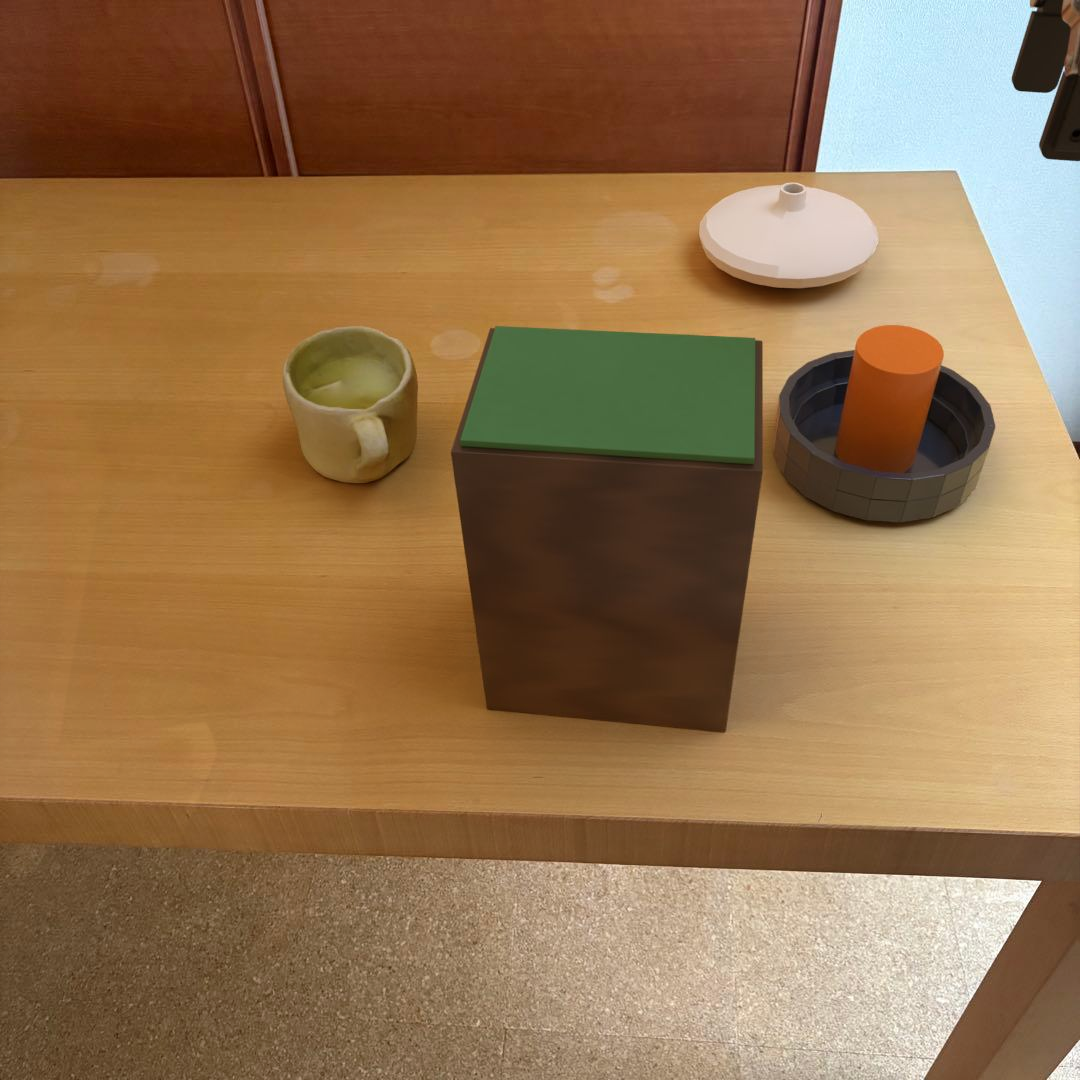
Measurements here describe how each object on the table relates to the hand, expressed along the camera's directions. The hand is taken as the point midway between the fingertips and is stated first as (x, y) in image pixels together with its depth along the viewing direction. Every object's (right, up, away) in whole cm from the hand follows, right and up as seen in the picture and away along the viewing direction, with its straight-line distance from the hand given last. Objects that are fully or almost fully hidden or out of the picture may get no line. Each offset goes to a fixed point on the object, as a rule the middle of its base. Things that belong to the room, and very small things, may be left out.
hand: (1045, 121), depth 52 cm
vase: (-3, +5, +43) cm, 44 cm away
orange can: (-1, -14, +23) cm, 28 cm away
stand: (-21, -28, +12) cm, 37 cm away
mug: (-38, -15, +26) cm, 49 cm away
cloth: (-22, -14, -2) cm, 26 cm away
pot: (-1, -15, +24) cm, 28 cm away
